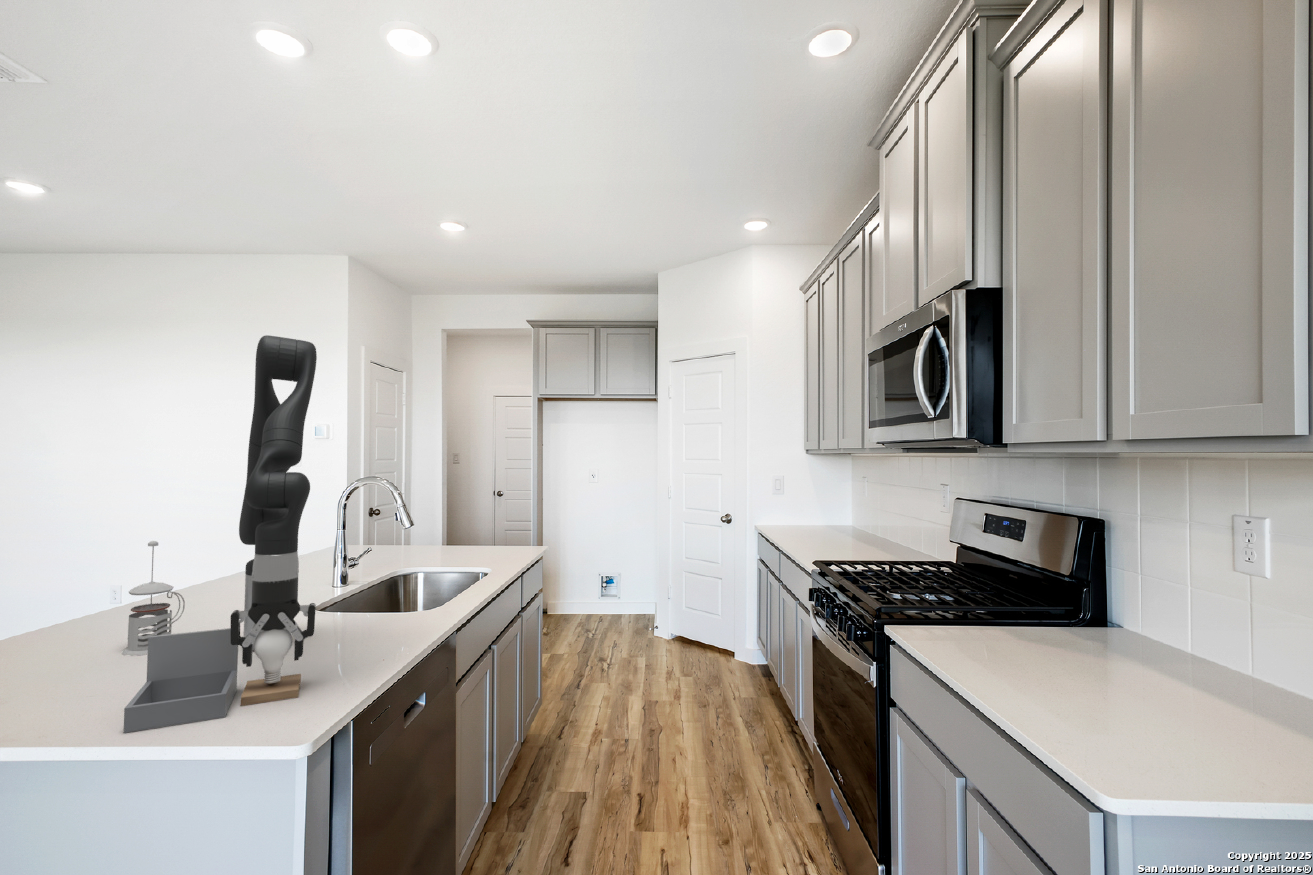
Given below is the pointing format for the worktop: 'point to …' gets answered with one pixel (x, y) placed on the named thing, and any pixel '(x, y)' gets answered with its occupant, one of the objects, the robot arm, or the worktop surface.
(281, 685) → the stand
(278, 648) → the lightbulb
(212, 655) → the case
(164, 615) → the french press
